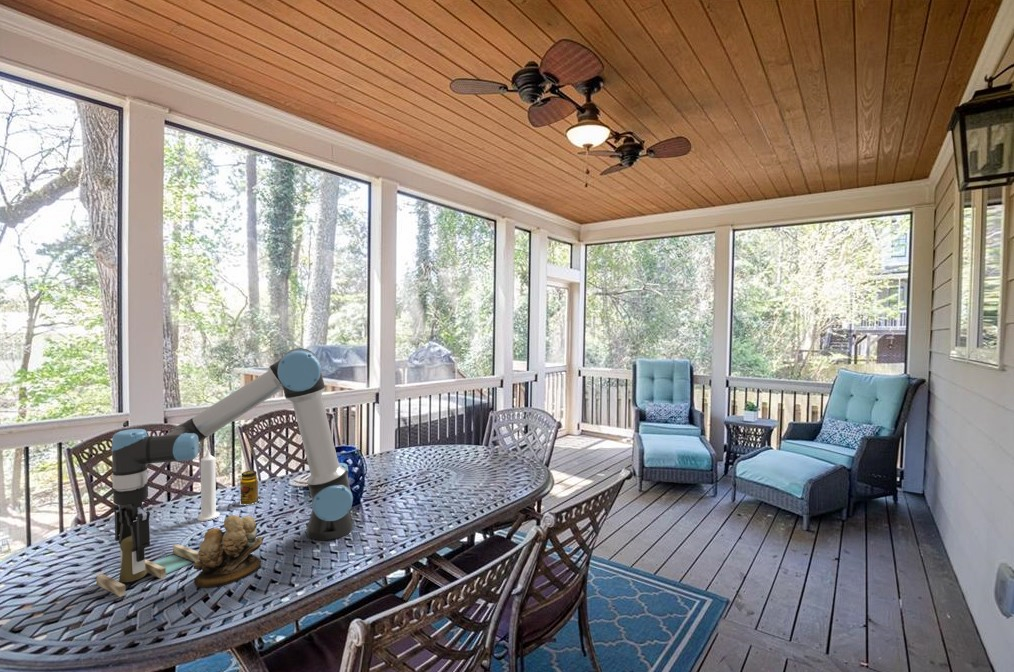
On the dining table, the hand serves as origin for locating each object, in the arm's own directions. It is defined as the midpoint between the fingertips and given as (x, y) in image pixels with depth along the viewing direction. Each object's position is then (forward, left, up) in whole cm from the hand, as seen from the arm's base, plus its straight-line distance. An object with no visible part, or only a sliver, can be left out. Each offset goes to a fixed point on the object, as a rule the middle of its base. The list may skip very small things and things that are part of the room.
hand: (133, 569), depth 131 cm
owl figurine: (-20, -15, -4) cm, 25 cm away
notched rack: (0, -9, -3) cm, 10 cm away
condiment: (+24, -52, -3) cm, 57 cm away
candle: (+23, -35, -3) cm, 42 cm away
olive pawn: (0, 0, -2) cm, 2 cm away
